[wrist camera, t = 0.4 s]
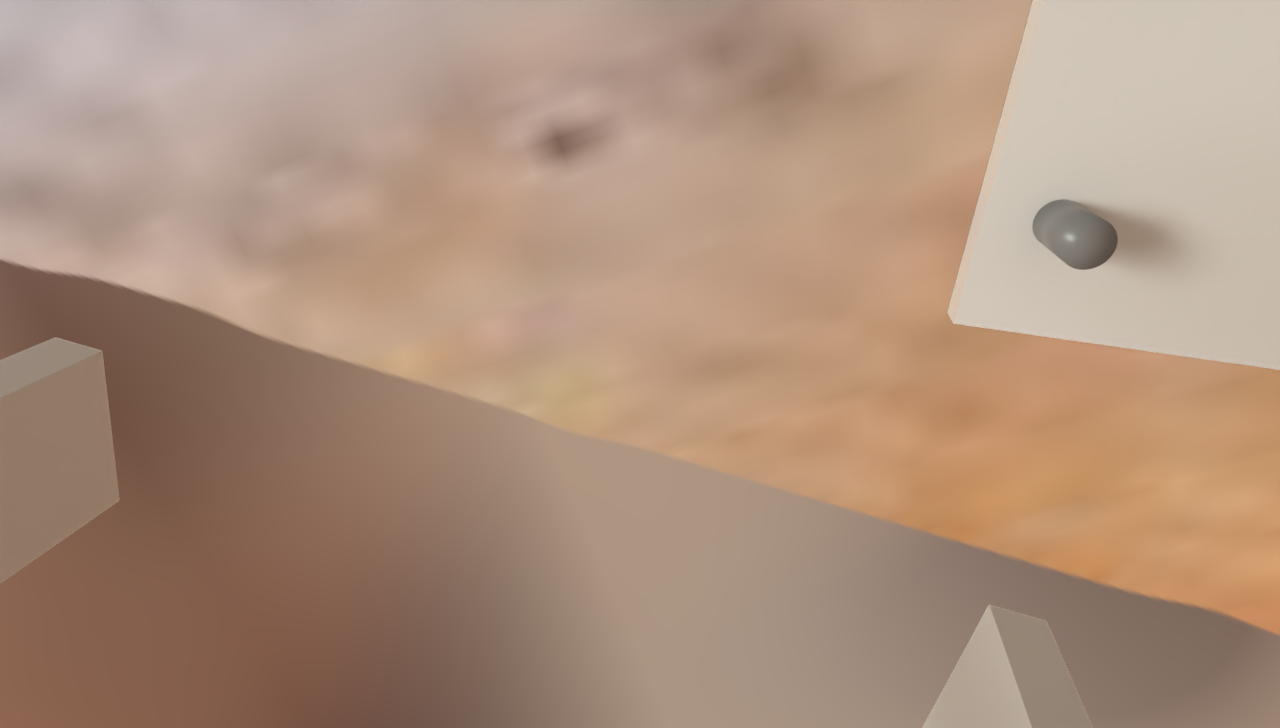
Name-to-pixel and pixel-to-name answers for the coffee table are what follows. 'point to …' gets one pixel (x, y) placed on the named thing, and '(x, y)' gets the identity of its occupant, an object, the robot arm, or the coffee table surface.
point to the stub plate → (1136, 182)
